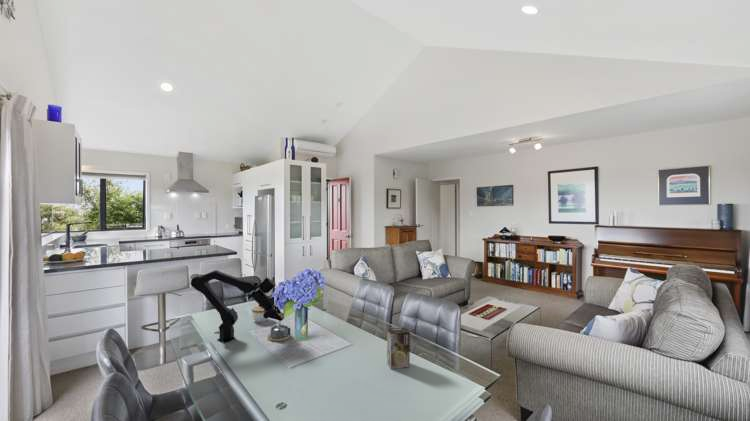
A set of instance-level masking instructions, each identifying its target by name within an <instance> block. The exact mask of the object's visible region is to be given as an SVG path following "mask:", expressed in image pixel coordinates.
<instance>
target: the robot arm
mask: <svg viewBox="0 0 750 421" xmlns="http://www.w3.org/2000/svg"><path fill="white" fill-rule="evenodd" d="M212 280H216V281H219V282H222V283H225V284H228V285H230V286H233V287H236V288H237V289H238V290H240V291H241V292H243V293H244V294H247V300H248V301H250V299H253V301H255V302H256V303H257V304H258V306H259V307H260V306H261V307H262V308H263V309H264V311H265V312H264V314H263V317H264V318H265V319H267V320H268V319H273V320H276V321H278V322H279V321H281V322H282V321H283V320H282V318H281V317H280V315H279V314H278V313H279V312H282V311H281V309H280V308H278V307H276V306H275V305H274V297H273V295H272V296H270V295H267V294H269V293H270V292H271V291H272V290H273V289H274V288H275V287H276V286H277V284H276V283H275V281H274V280H273V279H271V278H269V277H268V276H266V277H265V278H264V279H263V281H262V282H257V281H256V282H255V281H254V280H251V279H244V278H239V277H235V276H232V275H231V274H227V273H224V272H222V271H219V270H217V269H215V270H213V271H210V272H208V273H205V274H198V275H196V276H194V277H193V278H192V279H191V280H190V285H191V287H192V288H193V289H194V290H196V291H197V292H199V293H201V294H203V295H204V297H205V298H206V300H207V301H208V302H209V303H210V304H211V305H212V306H213V308H214V309H215V311H217V313H218V314H219V316H220V319H221V322H222V323H221V324H220V325H219V326H218V329H219V338H217V339H216V340H217V341H219V342H223V343H227V342H231V341H233V340H235V339H236V337H235V329H234V325H235V324H236V322H237V321H238V319H239V316H238V312H237V311H236V310H235V309H234V308H233V307H231V308H229V307H227V305H226V304H225V303H224V302H223V300H222V299H221V298H220V297H219V296H218V295H217V293H216V292H215V291H214V290H213V288H212V287H211V285H210V281H212Z"/></svg>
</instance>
